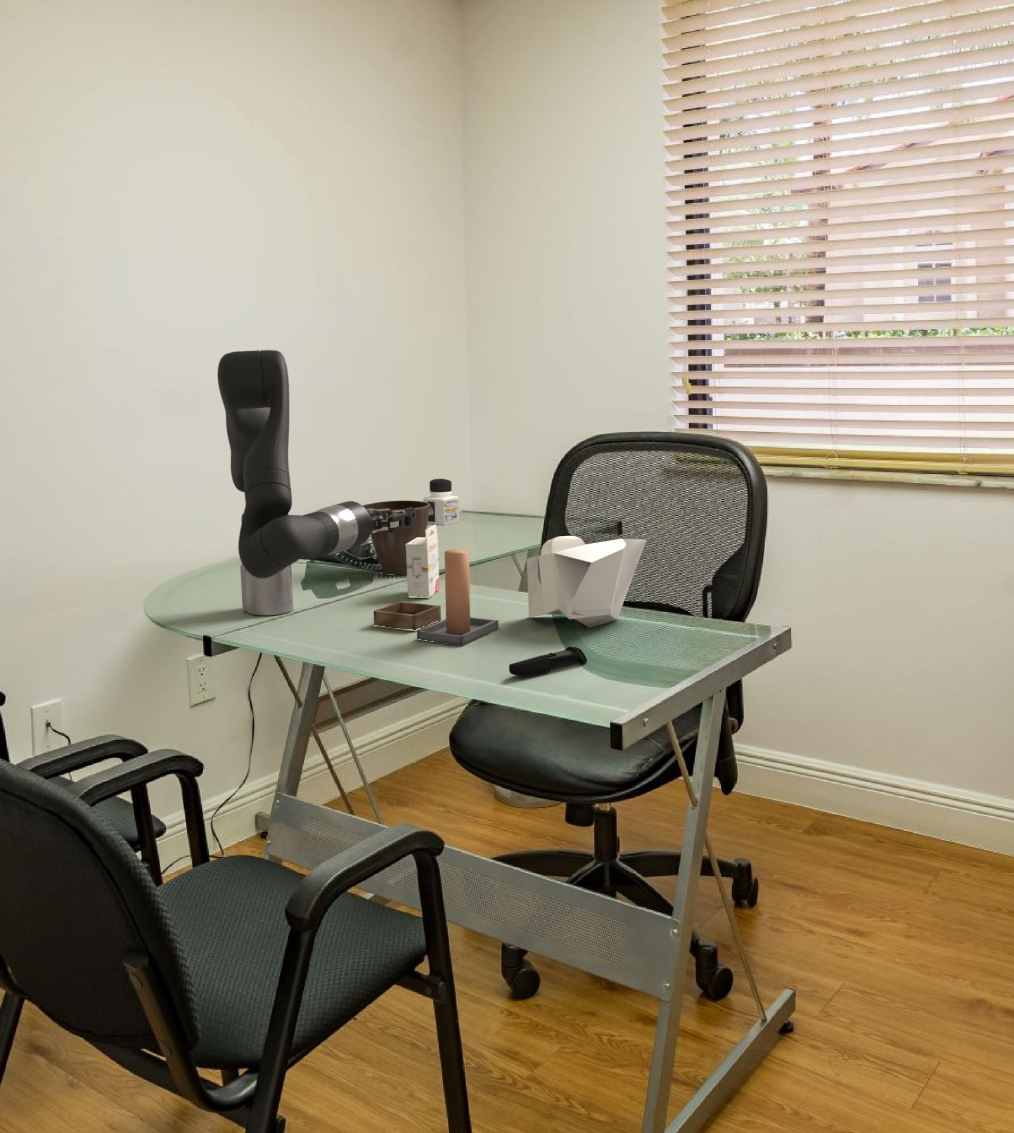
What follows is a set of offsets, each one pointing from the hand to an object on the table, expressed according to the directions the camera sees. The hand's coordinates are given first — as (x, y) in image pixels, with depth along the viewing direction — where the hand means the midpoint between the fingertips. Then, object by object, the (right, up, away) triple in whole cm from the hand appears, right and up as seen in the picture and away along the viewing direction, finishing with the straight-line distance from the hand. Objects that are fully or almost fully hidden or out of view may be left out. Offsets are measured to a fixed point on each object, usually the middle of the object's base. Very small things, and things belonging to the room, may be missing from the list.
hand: (391, 511), depth 198 cm
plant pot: (-5, -11, +68) cm, 69 cm away
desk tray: (+11, -22, +11) cm, 27 cm away
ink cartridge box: (+2, -16, +45) cm, 47 cm away
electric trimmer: (+27, -27, -12) cm, 40 cm away
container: (+1, +3, +141) cm, 141 cm away
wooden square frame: (+1, -20, +20) cm, 28 cm away
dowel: (+11, -22, +11) cm, 26 cm away
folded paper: (+36, -20, +20) cm, 46 cm away
